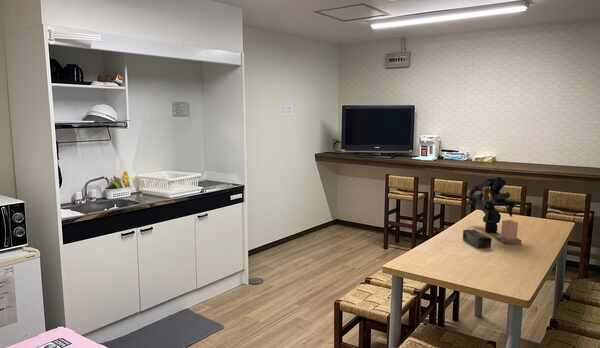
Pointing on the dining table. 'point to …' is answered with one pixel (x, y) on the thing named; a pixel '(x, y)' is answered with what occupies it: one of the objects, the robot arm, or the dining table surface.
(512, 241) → the walnut block
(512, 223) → the reddish brown block
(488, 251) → the dining table surface
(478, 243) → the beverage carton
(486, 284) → the dining table surface
